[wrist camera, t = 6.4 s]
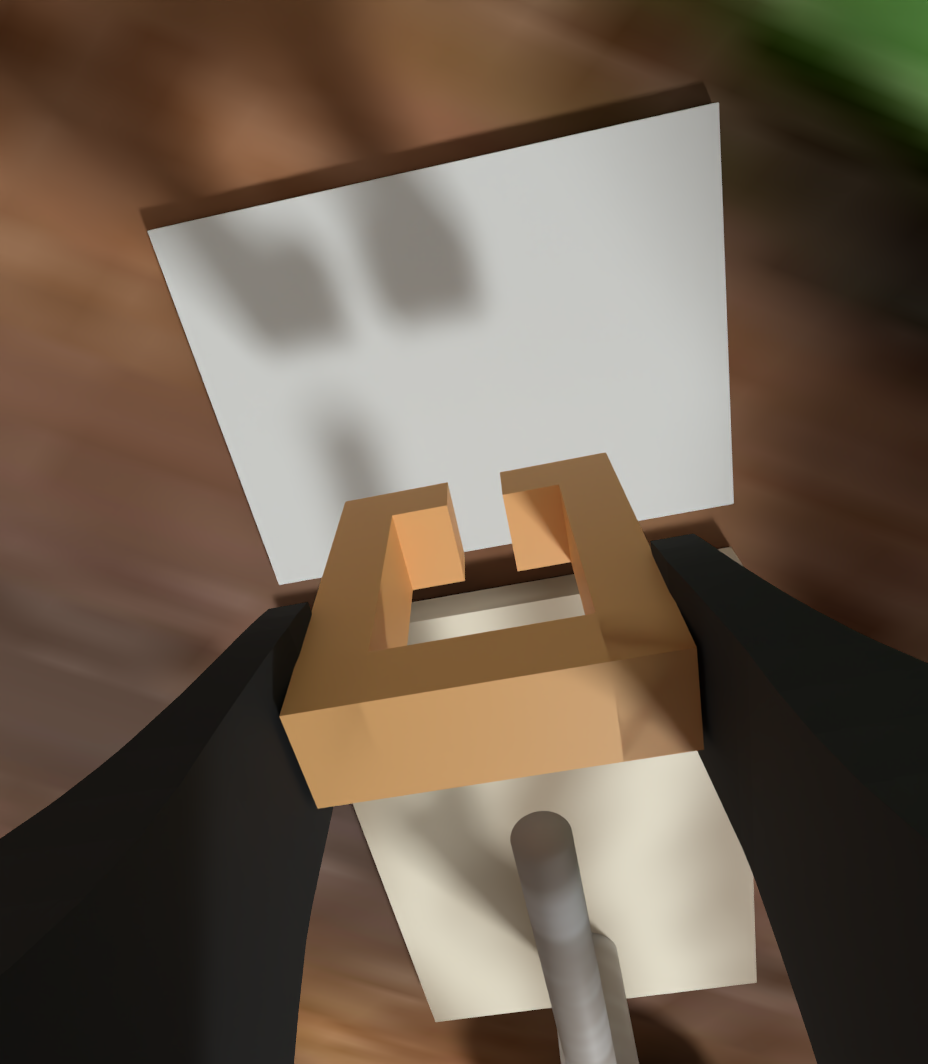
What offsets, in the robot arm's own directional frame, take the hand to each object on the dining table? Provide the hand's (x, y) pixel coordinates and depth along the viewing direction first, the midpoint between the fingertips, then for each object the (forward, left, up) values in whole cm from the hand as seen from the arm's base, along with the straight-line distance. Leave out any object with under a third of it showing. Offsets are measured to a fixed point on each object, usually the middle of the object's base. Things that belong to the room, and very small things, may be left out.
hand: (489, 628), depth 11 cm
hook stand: (0, +14, -8) cm, 16 cm away
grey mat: (0, -1, -8) cm, 8 cm away
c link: (0, 0, -4) cm, 4 cm away
